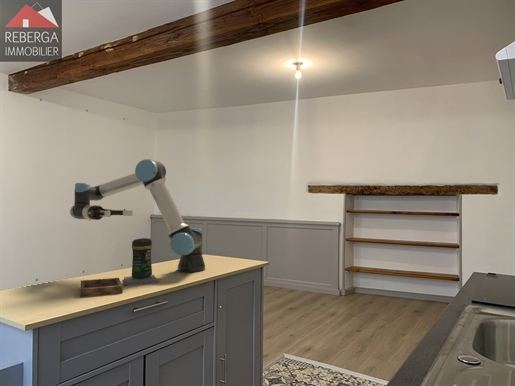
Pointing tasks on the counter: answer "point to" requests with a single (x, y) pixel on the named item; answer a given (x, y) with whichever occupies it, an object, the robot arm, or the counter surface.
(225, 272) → the counter surface
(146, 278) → the grey board
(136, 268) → the coffee jar
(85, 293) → the walnut frame
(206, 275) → the counter surface
